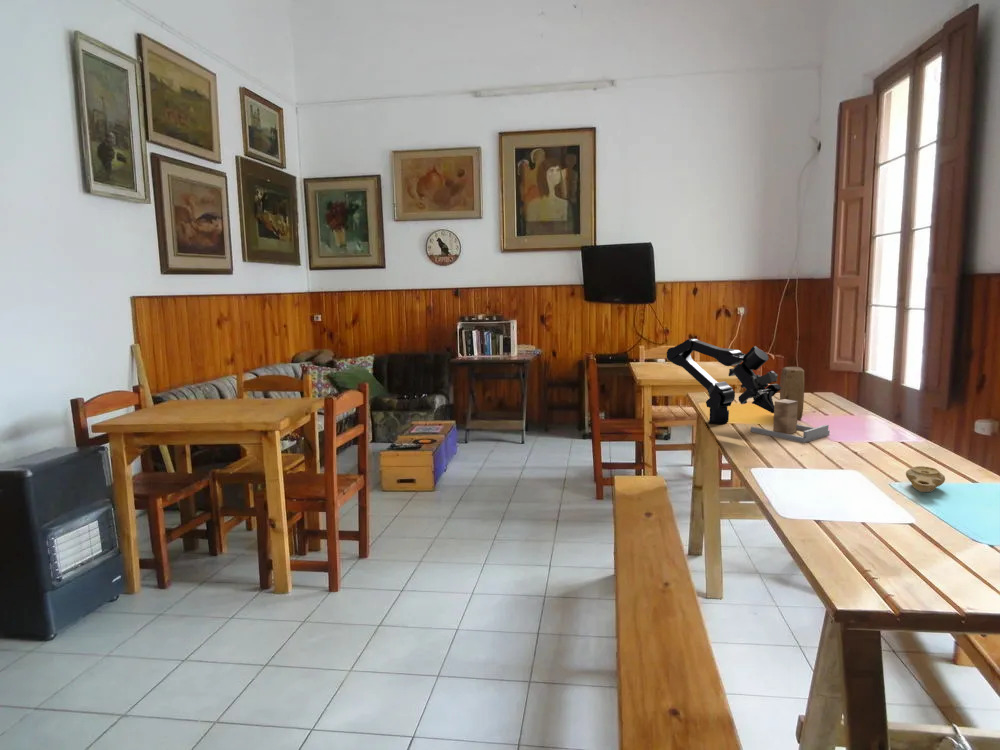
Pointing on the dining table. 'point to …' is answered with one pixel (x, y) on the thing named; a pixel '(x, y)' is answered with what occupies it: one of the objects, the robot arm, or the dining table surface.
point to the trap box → (808, 435)
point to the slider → (785, 416)
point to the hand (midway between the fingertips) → (774, 412)
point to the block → (793, 387)
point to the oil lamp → (925, 478)
